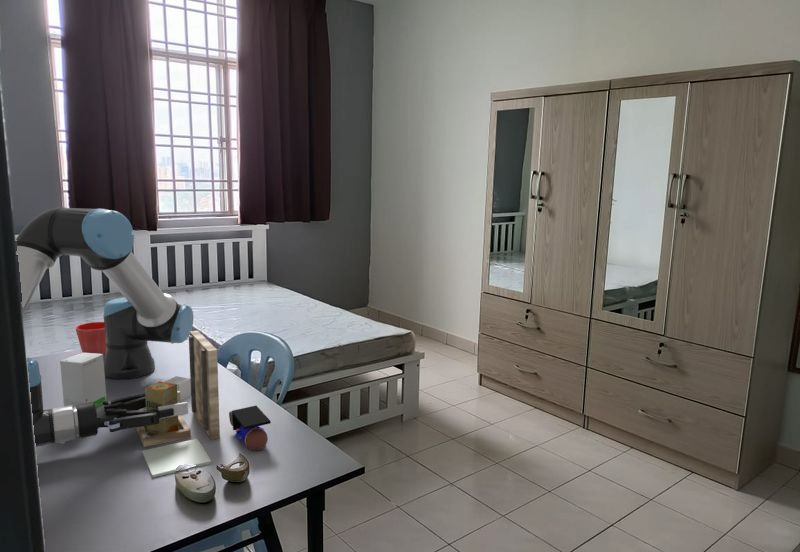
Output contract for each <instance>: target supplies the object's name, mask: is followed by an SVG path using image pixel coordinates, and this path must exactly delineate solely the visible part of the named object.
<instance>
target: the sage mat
mask: <svg viewBox="0 0 800 552" xmlns="http://www.w3.org/2000/svg"><path fill="white" fill-rule="evenodd" d="M142 455H143V458H144V460H145V463H146V466H147V468H148V471H149V473H150V475H151V477H152V478H153V479H154V478H157V477H161V476H165V475H169V474H173V473H176V472H175V470H176V468H177V467H178V466H179V465H184V464H193V465H196V466H198V467H201V466H206V465H209V464H212V460H211V459H210V456H209V455H208V454H207V451H206V450H205V448H204V447H203V446H202V444H201V442H200V441H199V440H198V438H195V439H194V438H193V439H191V440H190V439H189V440H186V441H185V440H184V441H180V442H176V443H172V444H168V445H162V446H158V447H154V448H149V449H144V450H142Z"/></svg>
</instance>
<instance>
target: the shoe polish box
mask: <svg viewBox="0 0 800 552" xmlns="http://www.w3.org/2000/svg"><path fill="white" fill-rule="evenodd" d="M144 392H145V395H146V408H145V410H150V409H158V407H161V406H166V405H172V404H177V403H178V401H177V384H172V383H167V382H165V381H161V380H160V381H158V382H156V383H153V384H151V385H149V386H147V387H145V388H144ZM178 430H180V427H179V424H178V415H177V416H172V417H167V418H162V419H159V423H158V424H155V425H149V426H147V430H146V433H147V435H148V437H149V436H154V435H159V434H163V433H168V432H173V431H178Z"/></svg>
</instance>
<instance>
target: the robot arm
mask: <svg viewBox="0 0 800 552" xmlns="http://www.w3.org/2000/svg"><path fill="white" fill-rule="evenodd" d="M133 231H134V230H133V226H132V224H131V222H130V220H129V219H128V218H127V217H126V216H125V215H124V214H122V212H119V211H116V210H112V209H111V210H109V209H106V208H77V207H76V208H75V207H73V208H72V207H54V208H50V209H48V210H45V211H43V212H41V213H40V214H38V215H37V216H36V217H34V218H32V220H31V221H30V222H28V223H27V224H26V225H25V227H24V228H23V229H22V230H21V231H20V232H19V233H18V235H17V236H16V238H15V240H17V253H18V262H19V272H20V282H21V293H22V307H23V316H24V315H25V313H26V311H27V309H28V307H29V305H30V302H31V301H32V298H33V297H34V295H35V293H36V290H37V289H38V287H39V285H40V283H41V281H42V279H43V277H44V275H45V273H46V270H47V269H50V268H52V267H54V265H55V264H56V261H57V259H59V258H60V257H61V256H70V257H71V256H75V257H79V258H81V259H82V260H83V261H84V262H85V263H86V264H87V265H88V267H89V268H91V269H93V270H95V271H99V272H100V271H101V272H102V273H103V274H104V275H105V276H106V277H107V279H109V281H110V282H111V283H112V284H113V285H114V287H116V289H117V290H118V291H119V292H120V294H121V295H122V296H123V297H119V298H115V299H111V300H108V301H107V302H105V304H104V306H103V322H104V325H105V338H106V352H105V355H103V360H104V374H105V379H111V380H112V379H113V380H114V379H115V380H127V379H128V380H129V379H134V378H139V377H142V376H146V375H149V374H151V373H152V372H154V370H155V369H156V363H155V359H154V358H153V356H152V353H151V350H150V348H149V344H148V342H159V343H169V344H170V343H171V344H183V343H184V342H185V341H186V340H187V339H189V336H190V331H193V325H194V311H193V308H192V307H191V306H189V305H186V304H185V303H184V304H180V303H178V302H177V300H175V298H174V297H173V296H172V295H171V294H169V293H166V292H165V293H164V292H163V291H162V290H161V288H160V287H159V285H158V284H157V283H156V282H155V281H154V279H153V278H152V277H151V275H150V274H149V273H148V271H147V270H146V269H145V267H144V266H143V265H142V263H141V262H140V261H139V259H138V258H137V257H136V256H135V254H134V252H133V246H134V243H135V242H134V241H135V240H134V239H135V234H134V233H133ZM26 357H27V356H26ZM27 362H28V372H29V383H30V392H31V404H32V413H33V425H34V435H35V443H36V447H35V448H37V447H44V446H48V445H51V444H52V445H53V444H57V443H61V444H65V443H66V442H67V441H68V442H69V441H72V440H76V438H77V437H79V438H80V439H84V438H87V437H88V438H89V437H93V436H97V435H98V433H99V429H100V428H108V429H109V432H110V433H115V432H118V431H123V430H129V429H135V428H136V429H137V427H142V426H149V425H155V424H158V423H159V419H162V418H167V417H172V416H177V415H182V416H183V415H186V414H189V408H188V407H189V405H188V404H189V403H188V401H183V402H182V400H181V396H180V391H177V401H178V403H177V404H172V405H166V406H161V407H158V409H150V410H146V395H145V393H140V394H139V393H138V394H135V395H134V394H133V395H130V396H125V397H121V398H115V399H106V401H103V406H101V407H99V408H96V406H95V403H94V402H88V403H83V404H78V405H77V406H76V407H74V408H73V406H72V405H69V406H64V405H63V406H59V407H53V408H49V409H48V408H47V409H44V403H43V402H44V401H43V388H42V380H43V379H42V374H41V372H40V365H39V361H37V359H35V358H33V357H27Z"/></svg>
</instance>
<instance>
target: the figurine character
mask: <svg viewBox="0 0 800 552" xmlns="http://www.w3.org/2000/svg"><path fill="white" fill-rule="evenodd" d="M228 418H229V419H228V420H229V422H230V425H231V426H232V430H233V431H235V434H234V436H235V437H236V438H239V439H240V440H242V441H244V443H245V446H246V447H247V449H249V450H251V451H260V450H262V449H264V448H265V447H266V445H267V443H268V439H269V438H268V434H267V432H266V431H265V429H264V428H263V427H261V426H265V425H270V424H271V423H272V421H271V419H270V418H268V416H267V415H266V414H265V413H264V412H263V411H262V410H261V409H260V408H259V407H258V406H257V405H253V406H248V407H247V406H246V407H242V408H238V409H233V410H231V411H229V412H228Z"/></svg>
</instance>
